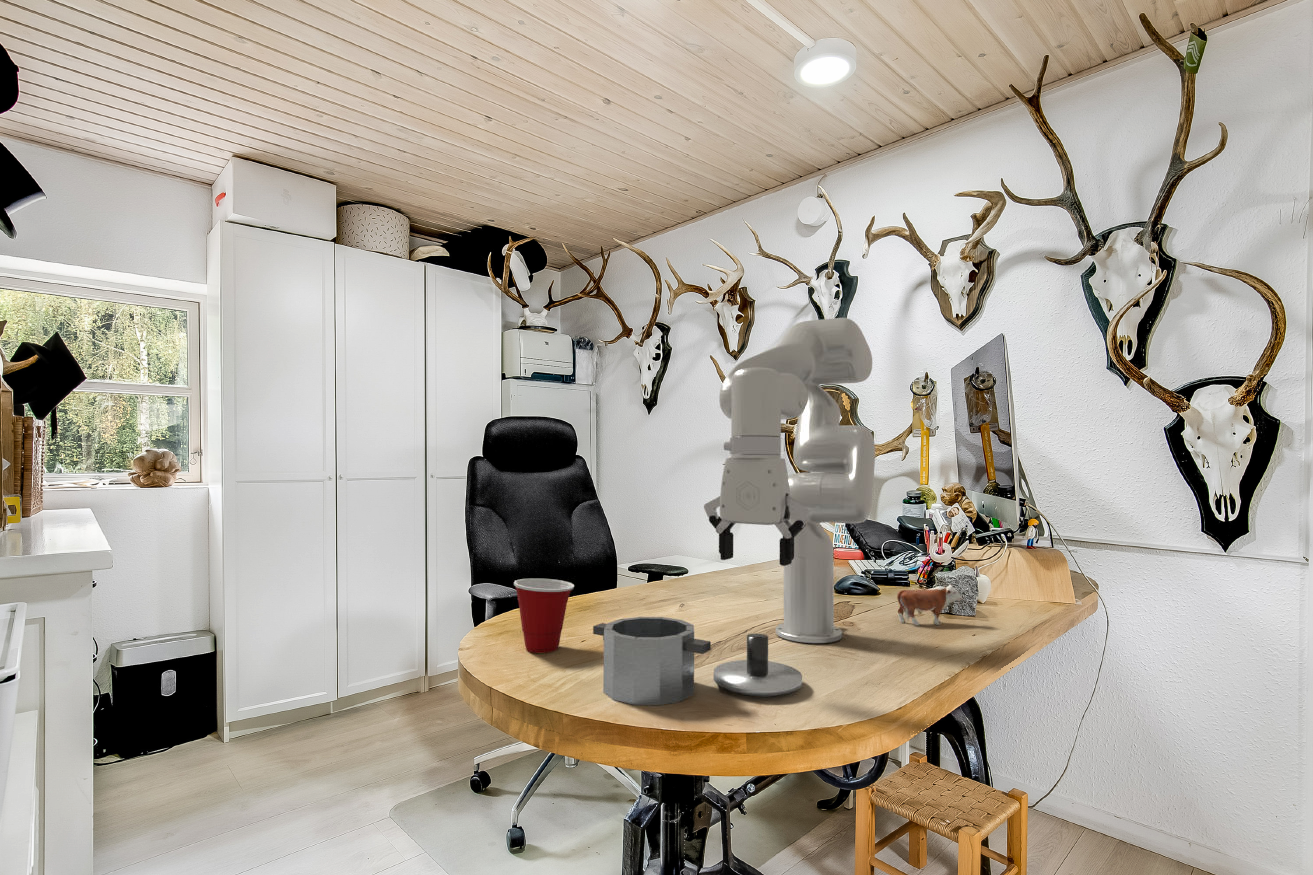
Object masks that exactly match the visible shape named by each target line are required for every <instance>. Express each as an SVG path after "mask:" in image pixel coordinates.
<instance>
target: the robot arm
mask: <svg viewBox="0 0 1313 875" xmlns="http://www.w3.org/2000/svg"><path fill="white" fill-rule="evenodd" d="M872 370H873V355H872V352H871V349H870V346H869V344H868V342H867V340H866V337H865V336H864V334H863V332H862V329H861V328H860V326H859V325H858V324H857V323H856V322H855V321H854V320H853V319H850V318H848V317H835V318H826V319H825V318H823V319H814V320H813V319H812V320H811V319H810V320H804V321H800V322H797V323H795V324H794V325H792V326H791V327H790V328H789V329H788V330H787V331H786V333H785V334H784V335H783V337H782V338H781V340H780V341H779V342H778V344H777V345H776V346H775V347H772V348H769V349H767V350H765V351H763V352H760V353H757V354H756V355H754V356H751V357H749V358H746V359H744V360H742V361H741V362H739V363H738V364H736V365H735V366H734V367H733V368H732V369H731V370H730V371H729V372H728V374H727V375H726V377H724V378H725V379H724V380H723V382H722V384H721V387H720V389H719V396H718V397H719V406H720V409H721V412H722V413H723V415H725V416H726V417H727V418H728V419H730V420H731V432H730V433H731V437H730V439H729V441H725V442H724V443H723V450H724V451H729V455H730V457H726V458H725V461H724V466H723V471H722V476H721V486H720V496H718V497H716V498H714V499H712V500H710V501H708V502H707V503H705V504H703V509H704V512H705V513H706V516H707V517H708V521H709V523H710V524H711V526H713V528H714V529H715V532H716V533H717V534H718V553H719V554H720V560H722V561H726V560H730V559H733V557H734V533H733V532H731V530H732V529H733V528H734V526H735V525H736V524H742V525H743V524H746V525H761V526H773V525H774V526H775V527H776V528H777V530H778V531H779V532H780V533H781V535H782V537H780V539H779V565H780V566H782V567H783V622H782V623H779V624H778V625H776V626H775V635H777V636H778V637H780V638H782V639H785V640H788V641H790V642H791V641H792V642H797V643H806V644H827V643H834V642H837V641H839V640H842V638H843V631H842V629H841V628H839V627H837V626H835V625H834V624H835V623H834V618H835V611H834V609H835V608H834V604H835V603H834V601H835V600H834V599H835V598H834V597H835V596H834V595H835V594H834V587H835V586H834V580H835V579H834V576H835V575H834V574H835V573H834V545H833V542H832V539H831V538H830V536H829V534H828V533H827V531H826V530H825V529H824V527H823V526H822V525H821V523H825V524H826V523H829V524H830V523H833V524H861V523H864V522H865V521H867V519H869V516H870V514H871V509H872V505H873V504H872V503H873V502H872V501H873V492H874V490H873V489H874V478H875V464H876V445H875V444H876V443H875V440H874V435H873V433H872V432H871V431H870V430H869V428H867V427H865V426H863V425H853V424H852V425H849V424H848V425H847V424H846V425H840V419H841V409H840V406H839V404H838V403H837V400H835V399H834V398H833V397H832V396H831V394H829V392H827V391H826V390H824V389H823V387H822V385H839V384H856V383H861V382H864V381H866V380H867V379H869V377H870V375H871V373H872ZM795 418H797V422H796V430H795V436H794V441H793V442H794V444H793V451H792V452H793V454H792V456H793V462H794V464H795V466H796V467H797V468H798V469H799V470H801V471H805V472H797V473H792V474H789V472H788V468H787V463H786V459H785V458H783V457H782V453H781V452H782V447H781V446H782V420H790V419H795ZM718 508H719V515H718V512H717V511H718V510H717V509H718Z"/></svg>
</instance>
